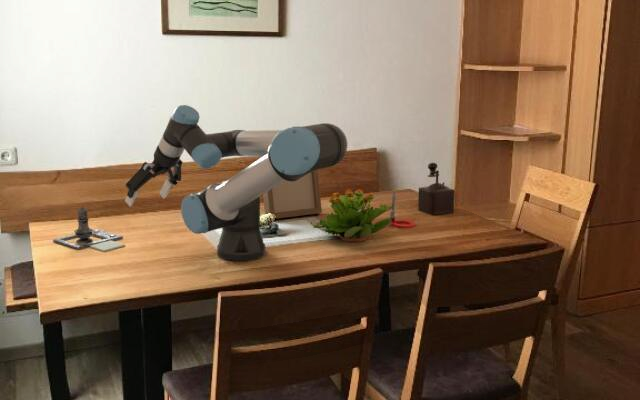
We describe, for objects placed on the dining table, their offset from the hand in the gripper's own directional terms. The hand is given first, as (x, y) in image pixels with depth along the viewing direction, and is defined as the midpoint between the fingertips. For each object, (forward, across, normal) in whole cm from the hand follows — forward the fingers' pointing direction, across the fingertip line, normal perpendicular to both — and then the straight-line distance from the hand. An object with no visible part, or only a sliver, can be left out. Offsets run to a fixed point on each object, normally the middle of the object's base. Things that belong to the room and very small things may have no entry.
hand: (145, 199), depth 223 cm
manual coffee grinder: (-14, -103, +48) cm, 115 cm away
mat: (+18, +9, +1) cm, 20 cm away
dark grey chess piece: (+25, +10, -8) cm, 28 cm away
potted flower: (-14, -51, +47) cm, 71 cm away
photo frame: (+8, -61, +16) cm, 64 cm away
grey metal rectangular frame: (+24, +8, -8) cm, 27 cm away
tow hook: (-16, -76, +50) cm, 92 cm away
